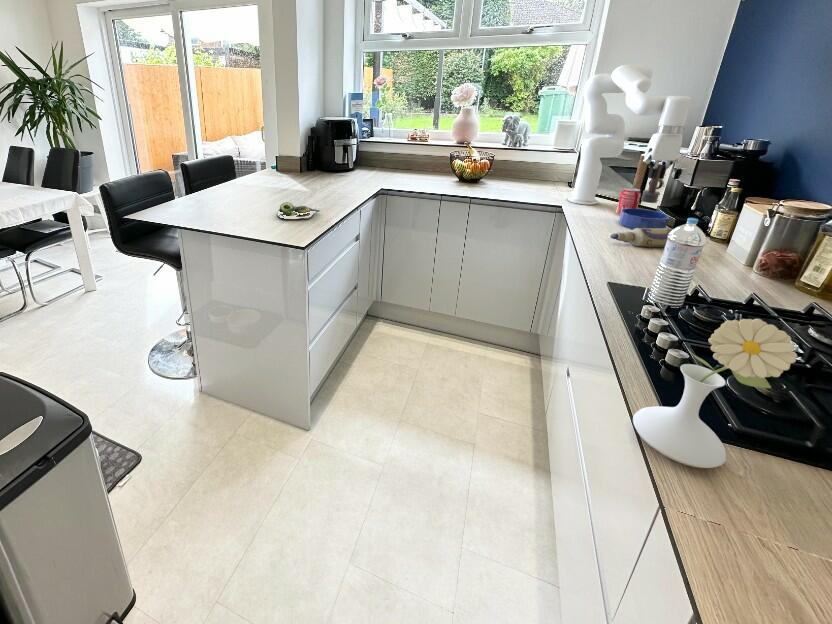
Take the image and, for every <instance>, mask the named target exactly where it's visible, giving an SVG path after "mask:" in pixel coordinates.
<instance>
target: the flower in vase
mask: <svg viewBox="0 0 832 624" xmlns="http://www.w3.org/2000/svg"><path fill="white" fill-rule="evenodd" d="M713 332H714V333H712V334H711V335H710V337H709V338H708V341H707V342H708V343H710V345H711V346H710V350H711V352H713V355H712V358H713V359H714V360H716V361H718V364H720V365H724V366H723V367H721V368H720V367H719V368H718V369H714V368H713V367H712V366H711V365H710V364H709V363H708V362H707V361H706V360H704V359H703V358H701V357H699V356H698V355H695V354H694V353H693V352H692V351H691V350H690V349H689V348H687V350H688V352H689V353H690V354H691V355H692V356H693V358H695V359H696V360H697V361H698V362H701V363H702V364H703V365H705V366H707V367H709V368H707V367H705V366H701V365H699V364H692V363H684V364H682V365H680V367H679V369H680V371H681V373H682V375H683V379H684V389H683V394H682V396H681V399H680V401H679V403H678V404H677V405H676V406H661V405H660V406H659V405H656V406H646V407H642V408H640V409H639V410H637V411H636V412H635V413H634V414H633V416H632V423H633V426H634V428H635V431H636V433H637V434H638V435H639V436H640V438H641V439H642V440H643V441H644V442H645V443H646V444H648V446H650V447H651V448H652V449H654V450H655V451H656V452H658V453H659V454H661V455H663V456H664V457H666V458H668V459H670V460H672V461H675V462H677V463H680V464H682V465H685V466H688V467H694V468H698V469H699V468H700V469H712V468H717V467H720V466H722V465H723V464H725V462H726V460H727V454H726V448H725V446H724V443H723V442H722V441H721V439H720V438H719V436H718V435H717V434H716V433H715V432H714V431H713V430H712V429H711V427H709V425H707V424H706V423H705V422H704V421H703V420H701V418H700V415H699V413H700V409H701V406H702V404H703V402H704V401H705V400H706V397H707V396H708V395H709V394H710V393H711V392H712V391H714V390H716V389H718V388H722V387H724V386H726V380H725V379H724V377H722V376H721V375H720V374H719V373H720V372H723V371H725V370H727V369H730V370H731V372H732V375H733V376H734V377H735V379H736V380H737V382H739V383H740V384H742V385H745V386H748V387H754V388H761V389H772V386H771V385H770V383H769V381H768V380H767V379H766V378H770V377H773V378H779V377H780V376H781V374H783V373H784V371H788V370H790V368H791V364H794V363H796V361H797V359H796V358H798V354H797V353H796V352H795V351H794V349H795V345H794V344H793V343H791V341H792V338H791V336H790V335H789V334H788V333H787V332H786V331H784V330H780V329H779V328H778V327H777V326H776V325H774V324H768V323H767V322H766V321H763V319H760V318H754V319H752V318H747V319H746V318H741V319H740V320H737V319H733V320H730V319H728V320H725V321H724V322H723V323H721V324H720V327H718V328H717V329H716V328H715V330H714V331H713Z"/></svg>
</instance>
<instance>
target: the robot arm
mask: <svg viewBox="0 0 832 624" xmlns="http://www.w3.org/2000/svg"><path fill="white" fill-rule="evenodd" d="M652 77H653V70H652V67H651V66H650V65H647V64H643V63H642V64H640V63H639V64H635V63H633V64H629V63H628V64H622V65H620V66H618V67H616V68H615V69H614V70H613V71H612V73H610V72H609V73H607V72H606V73H596V74H594V75H592V76H590V77H589V78H588V79H587V80H586V82H585V84H584V87H583V100H584V104H585V118H584V122H585V123H584V128H585V133H586V134H588V135H592V136H595V137H589V138H587V139H586V138H585V140H583V142H582V143H581V146H580V159H579V166H578V170H577V174H576V179H575V184H574V188H573V190H571V191H570V194H571V196H569V197H568V198H567V201H569V202H571V203H572V204H573V203H574V204H578V205H584V206H586V205H587V206H592V205H594V206H595V205H597V204H598V203H599V201H598V200H597V199H596V195H597V191H598V187H599V183H600V179H601V175H602V171H603V164H602V161H601V158H604V159H605V158H616V157H619V156H620V155H621V154H622V153H623V151H624V147H625V129H626V128H625V124H626V123H625V120H624V117H623V116H622V115H621V114H618V113H617V114H616V113H608V103H607V100H606V98H605V97H604V96H603V94H623V93H625V94H626V95H625V105H626V107H627V108H629V109H630V110H631V112H632V113H634V114H636V115H638V116H644V117H645V116H656V117H657V116H660V117H659V121H658V125H657V128H656V131H655V133H653V134H652V136H651V138H650V139H649V142H648V144H647V147H646V149H645V152H644V156H643V157H644V159H643V160H642V162H643V163H645V164H647V166H648V168H649V171H648V175H647V178H648V179H650V180H651V179H655V178H656V175H657V172H658V169H657V167H658V164H663V168H662V171H661V175H660V178H659V180H664V179H665V175H666V172H667V170H668V169H669V168H670V167H671V166H672V165H674V164H676V163H678V162H679V156H680V154H681V153H680V152H681V149H682V145H683V144H682V143H683V132H684V131H685V130H686V127H685V125H686V120H687V117H688V114H689V111H690V108H691V104H692V101H693V100H692V97H691V96H688V95H672V94H646V93H647V92H648V91H649V90H650V89H651V85H652V82H651V79H652Z"/></svg>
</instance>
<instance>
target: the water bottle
mask: <svg viewBox="0 0 832 624" xmlns="http://www.w3.org/2000/svg"><path fill="white" fill-rule="evenodd" d="M686 220H687V221H686V223H685V224H682V225H679V226H676V227H675V228H672V229H673V230H671V231H670V232H669V234H668V237H667V238H668V239H667V242H666V245H665V247H663V251H662V254H661V257H660V260H659V261H658V264H657V268H656V271H655V275H654V276H653V279H652V283H651V286H650V289H649V292H648V294H647V297H646V298H647V299H646V301H647V302H649V303H652V304H653V303H660V304H662V305H669V306H670V307H671V308H679V307H681V306H682V307H683V305H684V302H685V299H686V296H687V294H688V292H689V289H690V286H691V283H692V280H693V278H694V275H695V272H696V268H697V266H698V262H699V259H700V257H701V254H702V251H703V248H704V246H705V245H706V242H707V237H706V234H705V233H704V232H703V230H702V229H701V228H700V227H699V226H697V224H698V223H699V219H698V218H694V217H688V218H687V219H686Z"/></svg>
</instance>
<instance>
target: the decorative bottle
mask: <svg viewBox="0 0 832 624" xmlns="http://www.w3.org/2000/svg"><path fill="white" fill-rule="evenodd" d="M673 229H674V228H667V227H666V228H664V229H663V228H661V229H660V228H635V229H631V231H624V232H616V233H611V234H610V237H609V238H610V239H612V240H615V241H619V242H623V243H629V244H632V245H633V246H635V247H645V248H646V247H648V248H649V247H650V248H653V247H654V248H665V245H666V242H667V239H668V238H667V237H668V234H669V232H670V231H671V230H673Z"/></svg>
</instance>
